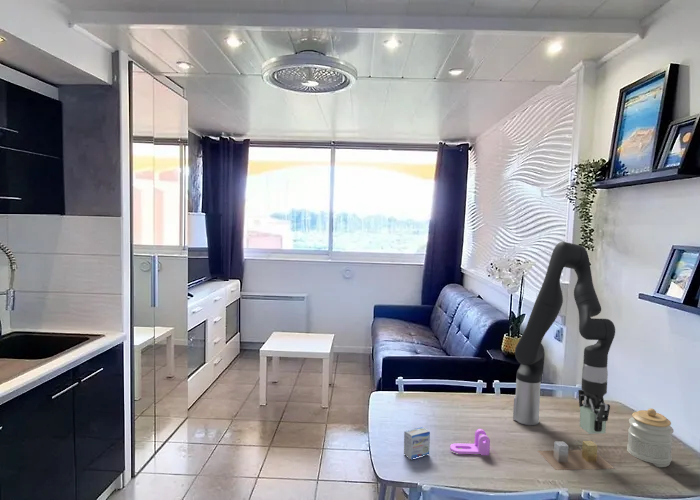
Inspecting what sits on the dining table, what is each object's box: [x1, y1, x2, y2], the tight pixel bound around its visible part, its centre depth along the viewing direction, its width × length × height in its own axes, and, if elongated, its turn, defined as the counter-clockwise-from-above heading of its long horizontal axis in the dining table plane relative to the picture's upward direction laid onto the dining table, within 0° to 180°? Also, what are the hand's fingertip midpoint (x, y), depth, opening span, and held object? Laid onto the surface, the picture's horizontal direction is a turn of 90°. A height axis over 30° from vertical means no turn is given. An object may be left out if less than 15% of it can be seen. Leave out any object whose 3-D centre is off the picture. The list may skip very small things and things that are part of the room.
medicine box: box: [403, 426, 431, 460], centre depth 158 cm, size 8×4×9 cm, turn 118°
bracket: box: [449, 428, 491, 456], centre depth 162 cm, size 13×6×7 cm, turn 90°
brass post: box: [581, 440, 598, 462], centre depth 155 cm, size 3×3×6 cm
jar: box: [626, 407, 675, 468], centre depth 159 cm, size 13×13×18 cm
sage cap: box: [579, 406, 607, 435], centre depth 154 cm, size 6×6×7 cm
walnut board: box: [537, 449, 615, 471], centre depth 155 cm, size 20×12×2 cm, turn 94°
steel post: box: [553, 440, 570, 462], centre depth 154 cm, size 3×3×6 cm
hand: (592, 426), depth 154 cm, fingers closed on sage cap, 5 cm apart
